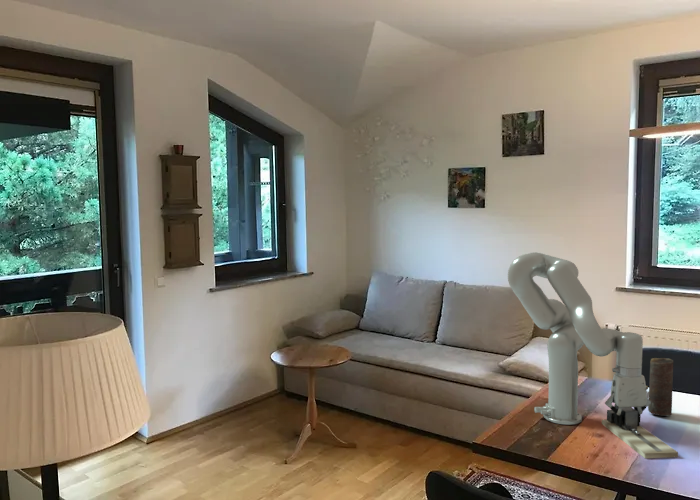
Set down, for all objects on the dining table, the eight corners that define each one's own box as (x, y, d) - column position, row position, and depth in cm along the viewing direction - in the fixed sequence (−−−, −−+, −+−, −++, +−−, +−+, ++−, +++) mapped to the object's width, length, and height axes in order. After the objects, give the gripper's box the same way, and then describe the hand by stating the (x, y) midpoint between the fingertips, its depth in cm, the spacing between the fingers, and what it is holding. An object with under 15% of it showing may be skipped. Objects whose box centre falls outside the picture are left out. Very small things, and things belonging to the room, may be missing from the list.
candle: (670, 420, 197) (673, 363, 195) (646, 416, 200) (648, 360, 199) (672, 413, 203) (674, 357, 201) (648, 409, 207) (650, 355, 205)
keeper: (631, 422, 191) (632, 406, 191) (611, 423, 191) (611, 407, 190) (625, 418, 195) (625, 402, 195) (605, 418, 195) (605, 402, 194)
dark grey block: (644, 434, 181) (645, 416, 180) (632, 435, 181) (633, 417, 180) (628, 423, 190) (629, 405, 190) (617, 423, 190) (617, 406, 189)
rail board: (677, 457, 169) (678, 451, 169) (644, 458, 169) (645, 453, 168) (630, 422, 195) (630, 418, 195) (601, 423, 194) (601, 419, 194)
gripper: (608, 375, 182) (607, 430, 183) (661, 373, 183) (659, 428, 184) (597, 368, 189) (596, 421, 191) (647, 366, 190) (645, 419, 192)
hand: (627, 424), depth 188 cm, fingers open, 5 cm apart
